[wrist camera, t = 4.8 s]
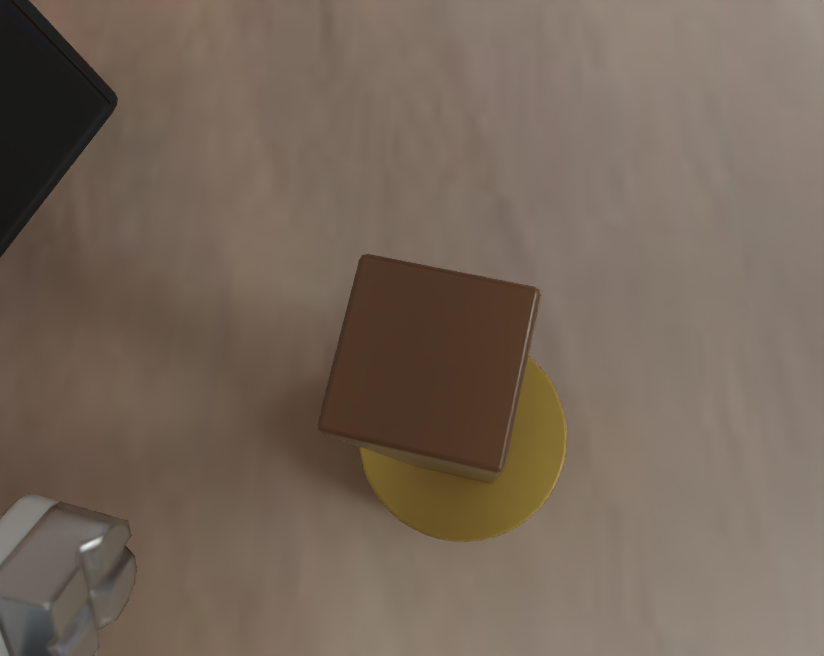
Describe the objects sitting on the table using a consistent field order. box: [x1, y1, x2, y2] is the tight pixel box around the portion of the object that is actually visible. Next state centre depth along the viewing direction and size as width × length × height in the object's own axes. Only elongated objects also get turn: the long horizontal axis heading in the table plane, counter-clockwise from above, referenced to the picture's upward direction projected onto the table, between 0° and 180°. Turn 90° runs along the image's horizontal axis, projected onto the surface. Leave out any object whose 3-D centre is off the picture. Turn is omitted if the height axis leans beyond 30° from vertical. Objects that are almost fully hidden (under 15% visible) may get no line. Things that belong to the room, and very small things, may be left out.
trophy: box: [317, 254, 567, 542], centre depth 15 cm, size 5×5×14 cm
